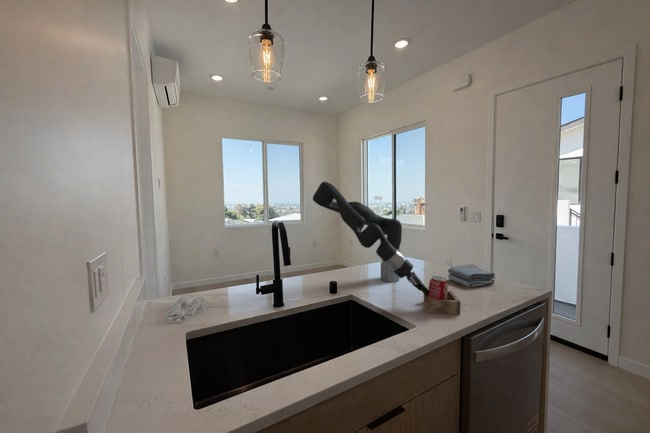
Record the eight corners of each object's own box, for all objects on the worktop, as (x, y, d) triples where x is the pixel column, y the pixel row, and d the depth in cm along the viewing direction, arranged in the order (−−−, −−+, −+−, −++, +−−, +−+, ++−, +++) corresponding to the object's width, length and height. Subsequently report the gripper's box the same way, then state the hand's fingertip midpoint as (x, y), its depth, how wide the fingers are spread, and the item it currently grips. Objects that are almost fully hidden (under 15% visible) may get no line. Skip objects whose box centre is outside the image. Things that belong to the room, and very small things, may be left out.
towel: (446, 280, 150) (446, 265, 149) (472, 276, 156) (473, 262, 155) (469, 289, 136) (469, 273, 135) (497, 284, 142) (497, 269, 141)
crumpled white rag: (195, 327, 101) (195, 316, 101) (153, 325, 100) (154, 314, 100) (212, 304, 121) (212, 295, 120) (178, 303, 120) (178, 294, 119)
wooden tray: (429, 312, 108) (429, 300, 108) (423, 301, 120) (423, 290, 119) (460, 314, 106) (460, 301, 106) (451, 302, 118) (451, 291, 118)
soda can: (441, 304, 116) (445, 276, 115) (447, 311, 109) (451, 282, 108) (424, 302, 117) (428, 274, 116) (429, 309, 110) (432, 280, 109)
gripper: (390, 265, 121) (419, 294, 120) (393, 274, 108) (425, 306, 107) (403, 254, 120) (432, 283, 119) (407, 261, 107) (439, 294, 106)
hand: (428, 294), depth 113 cm, fingers closed
